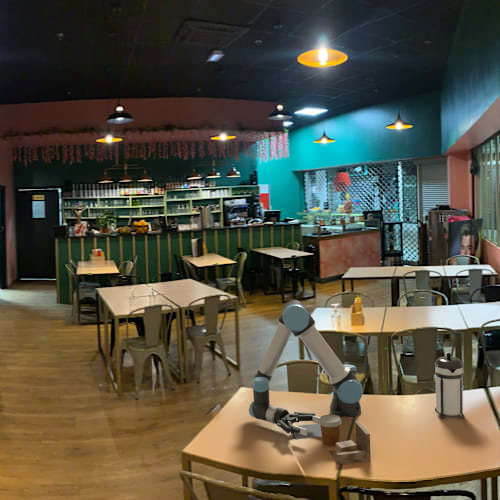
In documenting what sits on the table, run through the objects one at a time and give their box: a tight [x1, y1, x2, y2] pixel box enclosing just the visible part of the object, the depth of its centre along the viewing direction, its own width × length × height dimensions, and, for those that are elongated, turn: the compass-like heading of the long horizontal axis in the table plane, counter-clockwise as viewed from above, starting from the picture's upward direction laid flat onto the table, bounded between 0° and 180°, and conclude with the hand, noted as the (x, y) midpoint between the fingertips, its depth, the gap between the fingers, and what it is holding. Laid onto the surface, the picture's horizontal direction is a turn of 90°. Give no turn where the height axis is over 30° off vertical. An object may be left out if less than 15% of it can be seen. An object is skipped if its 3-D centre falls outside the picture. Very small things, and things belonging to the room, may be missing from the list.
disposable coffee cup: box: [319, 414, 342, 447], centre depth 234 cm, size 10×10×12 cm
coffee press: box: [434, 352, 465, 420], centre depth 262 cm, size 17×16×30 cm
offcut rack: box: [328, 421, 372, 465], centre depth 222 cm, size 14×13×12 cm
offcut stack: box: [334, 439, 358, 453], centre depth 222 cm, size 8×6×5 cm
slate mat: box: [292, 423, 322, 440], centre depth 249 cm, size 14×14×1 cm
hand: (316, 427), depth 238 cm, fingers open, 13 cm apart
